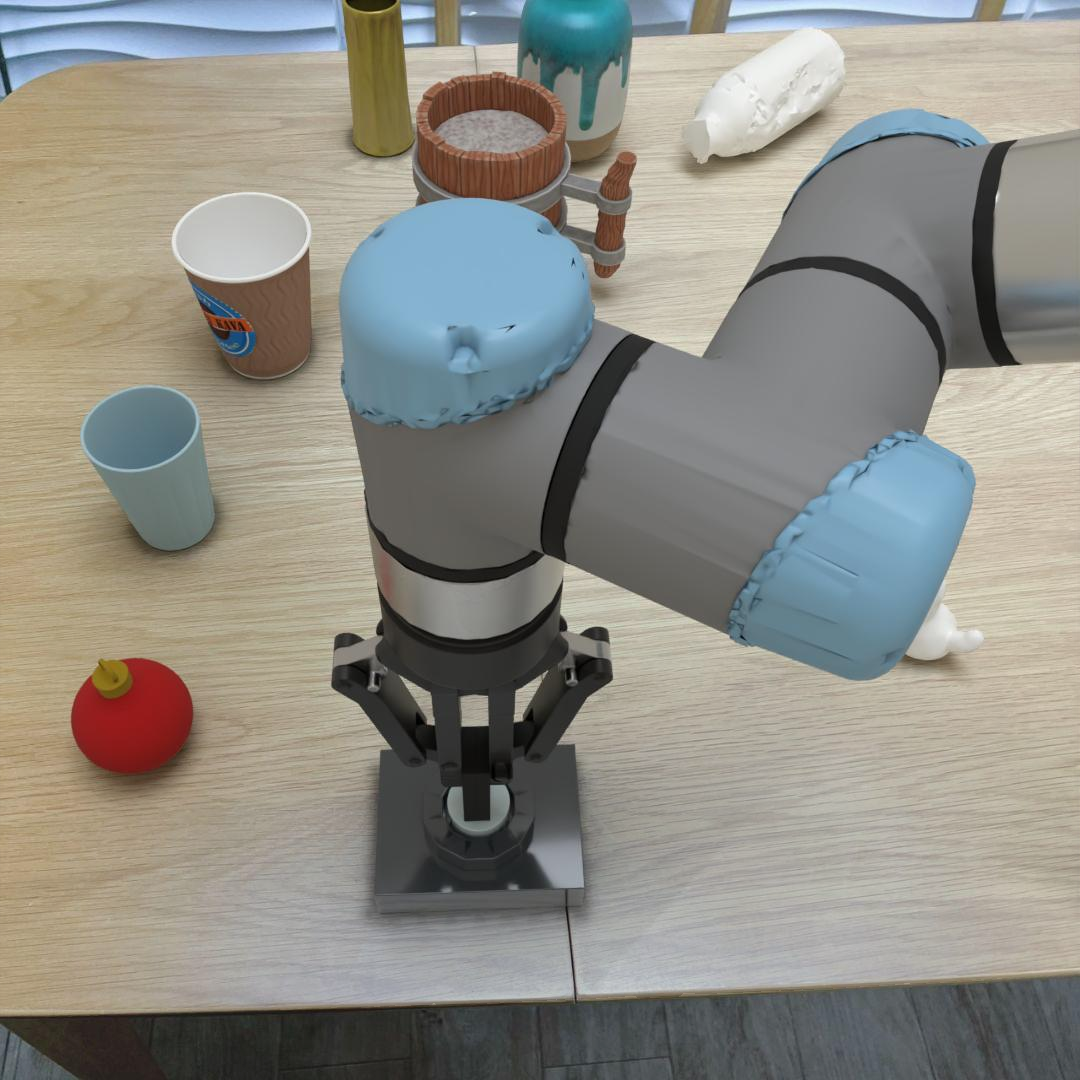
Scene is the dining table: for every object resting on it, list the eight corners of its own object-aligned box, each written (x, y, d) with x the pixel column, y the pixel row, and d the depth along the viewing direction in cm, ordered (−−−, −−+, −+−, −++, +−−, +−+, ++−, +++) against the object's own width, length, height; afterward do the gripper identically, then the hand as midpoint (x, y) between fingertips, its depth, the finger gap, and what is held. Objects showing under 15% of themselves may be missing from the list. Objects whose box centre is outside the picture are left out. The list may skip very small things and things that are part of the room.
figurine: (861, 589, 79) (894, 522, 73) (971, 624, 78) (1015, 559, 71) (847, 649, 76) (879, 585, 70) (961, 686, 75) (1005, 625, 68)
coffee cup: (180, 348, 91) (143, 231, 81) (280, 291, 95) (256, 174, 86) (255, 415, 87) (225, 300, 77) (356, 352, 91) (339, 236, 82)
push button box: (572, 765, 70) (576, 730, 66) (581, 905, 65) (587, 877, 61) (384, 770, 70) (377, 736, 66) (378, 913, 64) (370, 885, 60)
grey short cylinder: (508, 784, 66) (508, 770, 64) (510, 843, 64) (510, 829, 62) (448, 786, 65) (447, 772, 64) (448, 845, 63) (447, 832, 62)
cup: (251, 502, 82) (222, 407, 73) (190, 579, 78) (152, 487, 69) (167, 467, 84) (129, 370, 75) (103, 540, 79) (55, 447, 71)
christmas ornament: (226, 739, 71) (191, 662, 62) (133, 815, 67) (84, 744, 59) (161, 672, 73) (119, 590, 65) (68, 741, 70) (12, 664, 62)
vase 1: (373, 115, 111) (359, -26, 100) (426, 132, 110) (417, -9, 98) (341, 146, 108) (323, 4, 97) (395, 164, 107) (382, 22, 95)
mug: (452, 198, 104) (446, 48, 92) (644, 251, 100) (665, 102, 88) (387, 289, 96) (371, 139, 84) (592, 351, 92) (607, 203, 80)
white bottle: (658, 158, 109) (668, 85, 102) (775, 86, 117) (791, 13, 110) (719, 195, 106) (733, 121, 99) (836, 118, 114) (855, 45, 107)
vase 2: (518, 114, 112) (522, -81, 97) (621, 119, 112) (641, -75, 97) (512, 177, 106) (515, -21, 91) (621, 183, 106) (643, -14, 91)
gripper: (624, 489, 46) (585, 735, 65) (312, 493, 45) (365, 741, 64) (642, 643, 42) (595, 858, 61) (297, 650, 41) (359, 866, 60)
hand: (476, 798), depth 63 cm, fingers closed
